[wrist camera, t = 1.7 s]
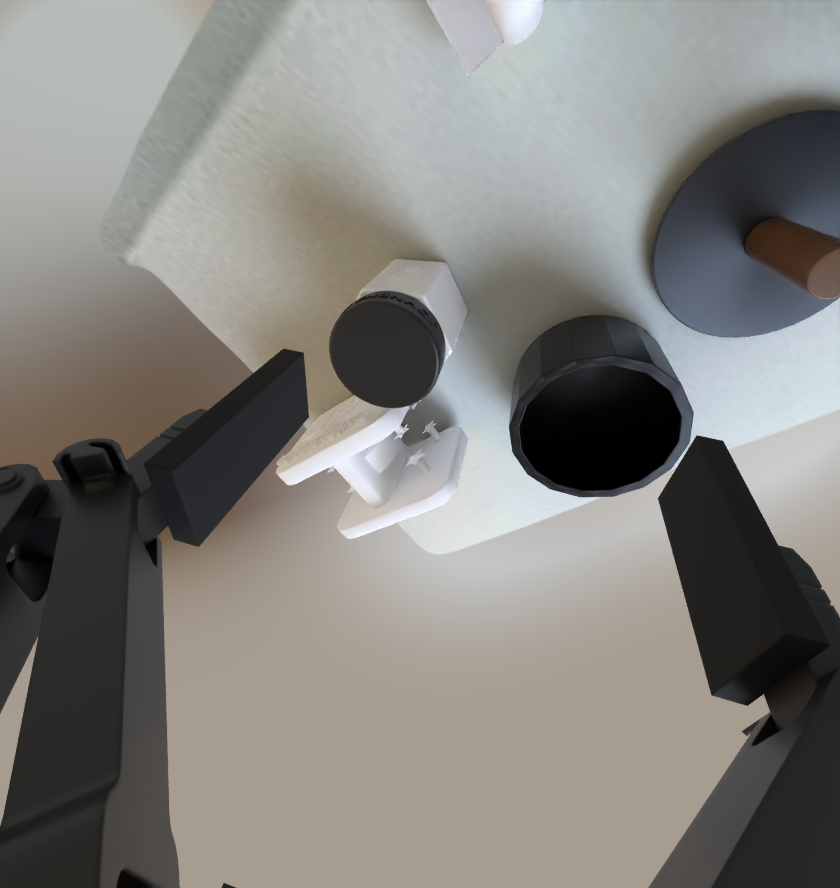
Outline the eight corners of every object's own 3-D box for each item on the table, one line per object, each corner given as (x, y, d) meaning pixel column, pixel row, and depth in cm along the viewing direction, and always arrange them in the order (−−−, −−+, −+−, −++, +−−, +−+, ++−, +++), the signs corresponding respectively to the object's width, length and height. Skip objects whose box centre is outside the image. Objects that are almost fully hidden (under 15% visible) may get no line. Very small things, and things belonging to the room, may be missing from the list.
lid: (795, 53, 26) (913, 17, 18) (947, 203, 28) (1114, 232, 20) (608, 263, 34) (630, 304, 26) (737, 364, 36) (793, 431, 28)
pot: (584, 283, 35) (594, 319, 29) (700, 372, 37) (735, 425, 31) (487, 393, 43) (478, 442, 37) (587, 462, 45) (596, 519, 39)
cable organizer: (370, 476, 53) (335, 547, 44) (313, 412, 49) (262, 476, 40) (472, 429, 46) (456, 503, 37) (415, 349, 42) (381, 411, 33)
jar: (472, 261, 36) (449, 307, 27) (464, 351, 41) (442, 417, 32) (371, 253, 38) (315, 294, 28) (374, 340, 42) (328, 401, 33)
